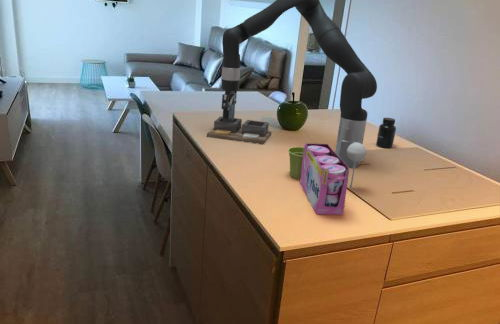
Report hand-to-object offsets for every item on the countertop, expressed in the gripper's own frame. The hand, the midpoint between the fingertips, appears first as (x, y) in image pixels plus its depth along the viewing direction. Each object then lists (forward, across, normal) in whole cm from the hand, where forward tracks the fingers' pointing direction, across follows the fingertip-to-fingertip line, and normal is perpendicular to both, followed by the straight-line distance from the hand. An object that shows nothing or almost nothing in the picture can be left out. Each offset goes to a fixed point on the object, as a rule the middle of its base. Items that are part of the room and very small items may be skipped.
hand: (228, 116), depth 190 cm
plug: (+6, 0, 0) cm, 6 cm away
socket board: (+7, -2, -6) cm, 10 cm away
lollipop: (+7, -43, -53) cm, 69 cm away
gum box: (+7, -55, -44) cm, 71 cm away
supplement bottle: (+7, +11, -66) cm, 67 cm away
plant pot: (+7, -39, -36) cm, 54 cm away
